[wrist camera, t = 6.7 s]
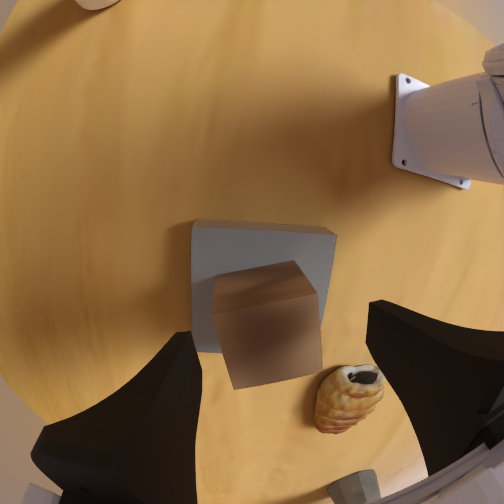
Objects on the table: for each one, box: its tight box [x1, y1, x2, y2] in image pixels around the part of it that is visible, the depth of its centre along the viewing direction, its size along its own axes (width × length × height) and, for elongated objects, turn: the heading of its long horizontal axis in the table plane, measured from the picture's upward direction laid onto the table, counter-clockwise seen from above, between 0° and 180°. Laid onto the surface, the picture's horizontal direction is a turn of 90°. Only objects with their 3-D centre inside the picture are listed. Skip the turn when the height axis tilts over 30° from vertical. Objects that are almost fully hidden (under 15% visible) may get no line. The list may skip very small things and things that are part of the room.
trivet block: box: [191, 219, 337, 353], centre depth 19 cm, size 9×9×3 cm
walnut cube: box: [211, 260, 323, 390], centre depth 16 cm, size 5×5×5 cm
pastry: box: [314, 365, 385, 434], centre depth 23 cm, size 9×7×4 cm
